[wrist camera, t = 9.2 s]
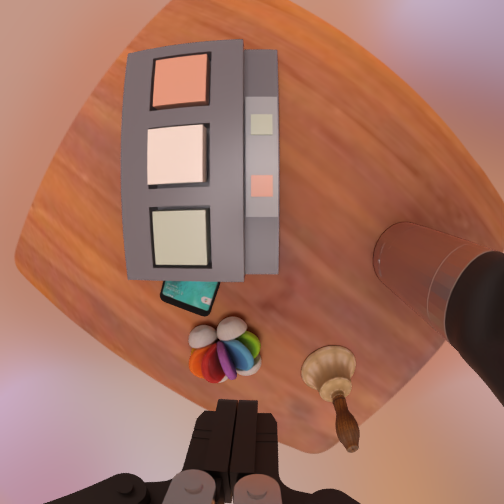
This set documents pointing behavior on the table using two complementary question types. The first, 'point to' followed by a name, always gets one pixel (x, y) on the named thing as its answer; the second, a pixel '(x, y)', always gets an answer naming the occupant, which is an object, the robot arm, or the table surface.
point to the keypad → (218, 163)
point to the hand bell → (334, 387)
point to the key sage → (182, 236)
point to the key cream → (177, 155)
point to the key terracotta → (182, 82)
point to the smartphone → (190, 295)
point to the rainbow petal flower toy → (224, 351)
